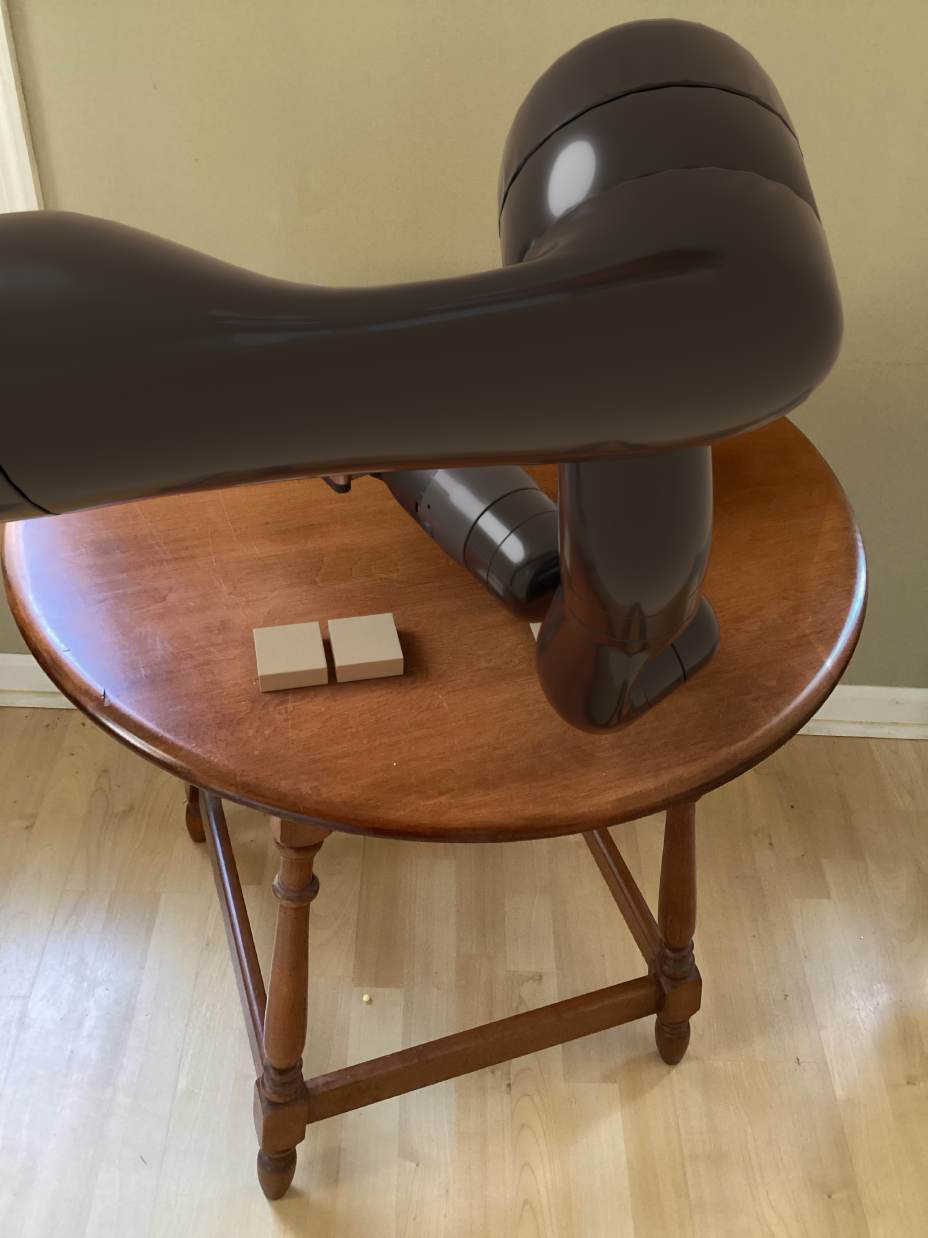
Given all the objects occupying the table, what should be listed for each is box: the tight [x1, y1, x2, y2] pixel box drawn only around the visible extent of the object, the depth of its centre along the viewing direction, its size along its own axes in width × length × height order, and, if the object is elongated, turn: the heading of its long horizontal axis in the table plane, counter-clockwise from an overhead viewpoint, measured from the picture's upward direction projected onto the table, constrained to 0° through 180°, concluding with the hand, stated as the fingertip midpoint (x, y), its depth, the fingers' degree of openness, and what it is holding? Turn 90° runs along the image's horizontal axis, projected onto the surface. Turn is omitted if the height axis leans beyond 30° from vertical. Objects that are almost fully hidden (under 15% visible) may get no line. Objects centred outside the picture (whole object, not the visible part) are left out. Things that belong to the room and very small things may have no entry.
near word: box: [252, 612, 542, 693], centre depth 71 cm, size 23×4×2 cm, turn 103°
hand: (353, 383), depth 79 cm, fingers open, 8 cm apart
